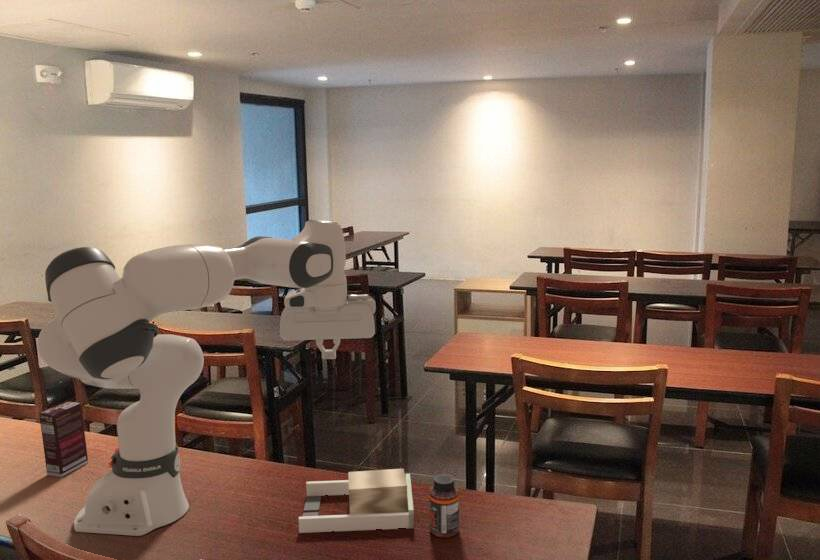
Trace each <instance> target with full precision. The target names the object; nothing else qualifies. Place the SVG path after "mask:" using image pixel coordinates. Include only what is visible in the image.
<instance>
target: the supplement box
mask: <svg viewBox="0 0 820 560" xmlns="http://www.w3.org/2000/svg"><path fill="white" fill-rule="evenodd" d="M81 403H82V402H77V401H68V400H66V401H65V402H62V403H60V404H57V405H55V406H53V407H51V408H48V409H46V410H43V411H41V412H39V413H38V415H39V416H38V417H39V421H40V423H39V424H40V431H41V437H42V438H41V439H42V445H43V453H44V461H45V462H44V463H45V468H46V474H47V475H48V476H51V477H56V478H57V477H58V478H63V477H64V476H66V475H69V474H70V473H72V472H74V471H76V470H77V469H79V468H81V467H83V466H84V465H86V464H88V463H89V458H88V451H87V450H88V449H87V442H86V441H87V440H86V435H85V426H84V419H83V410H82V404H81Z"/></svg>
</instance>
